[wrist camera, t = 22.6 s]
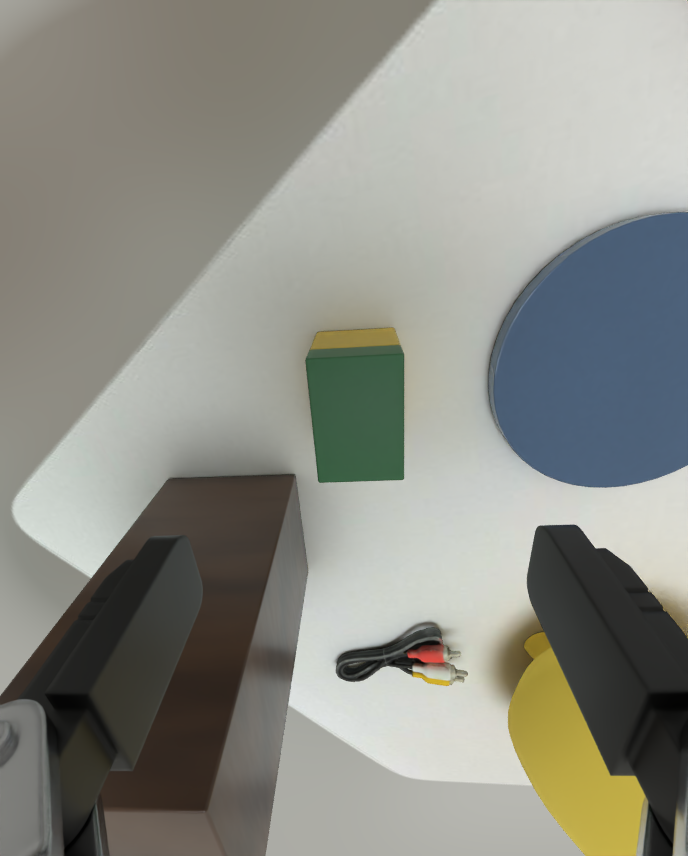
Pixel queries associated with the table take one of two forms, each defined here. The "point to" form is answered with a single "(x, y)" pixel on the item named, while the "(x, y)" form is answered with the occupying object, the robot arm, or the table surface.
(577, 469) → the plate
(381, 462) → the sponge
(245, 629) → the tall dark wooden block
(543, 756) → the teapot
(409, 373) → the table surface
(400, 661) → the composite cable
